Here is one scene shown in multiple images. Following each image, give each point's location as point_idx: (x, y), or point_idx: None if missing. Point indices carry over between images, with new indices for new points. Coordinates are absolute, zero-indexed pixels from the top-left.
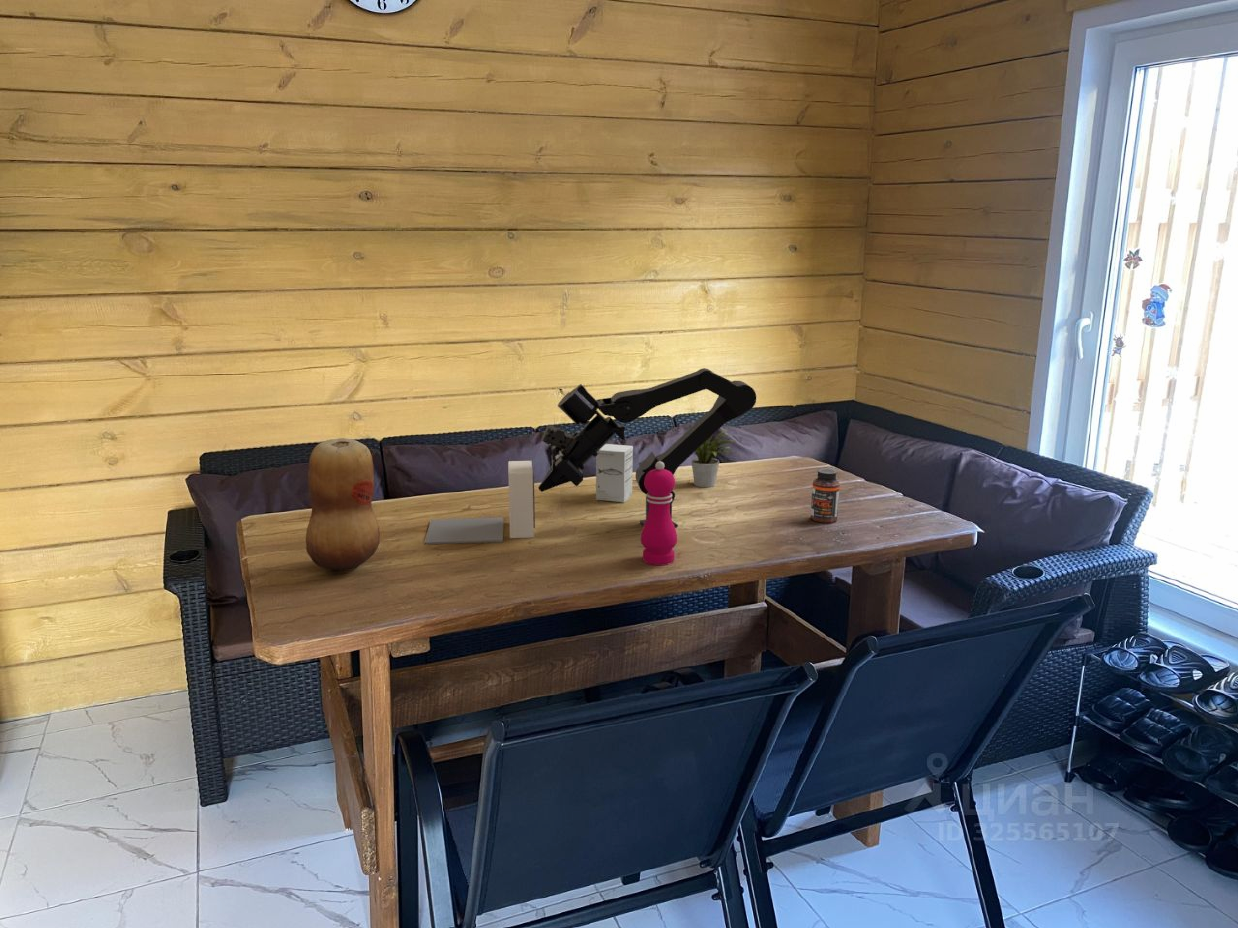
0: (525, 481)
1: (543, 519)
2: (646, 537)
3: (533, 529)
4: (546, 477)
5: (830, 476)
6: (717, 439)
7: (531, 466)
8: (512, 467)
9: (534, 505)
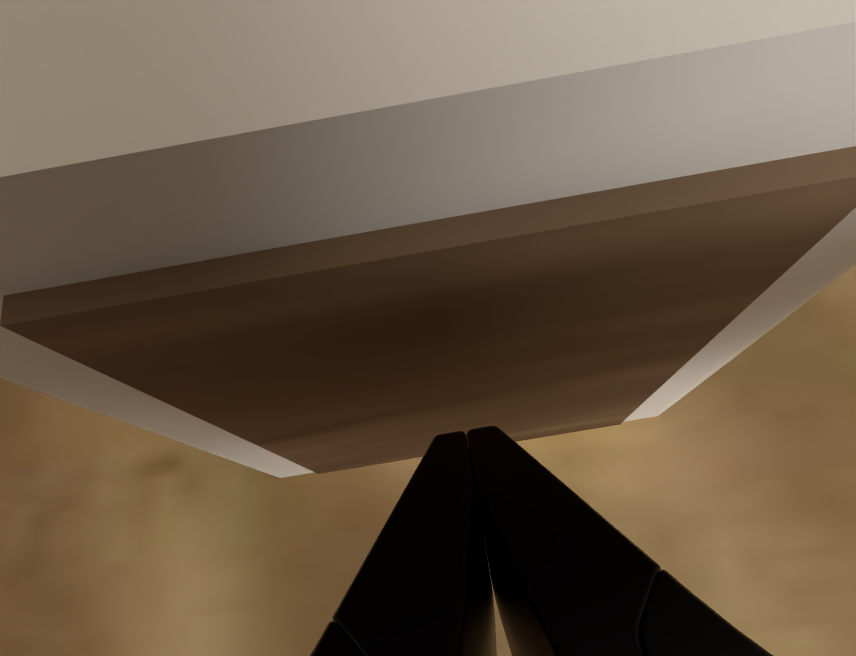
0: None
1: (739, 495)
2: None
3: (260, 468)
4: (376, 595)
5: None
6: None
7: (459, 80)
8: None
9: (247, 440)
